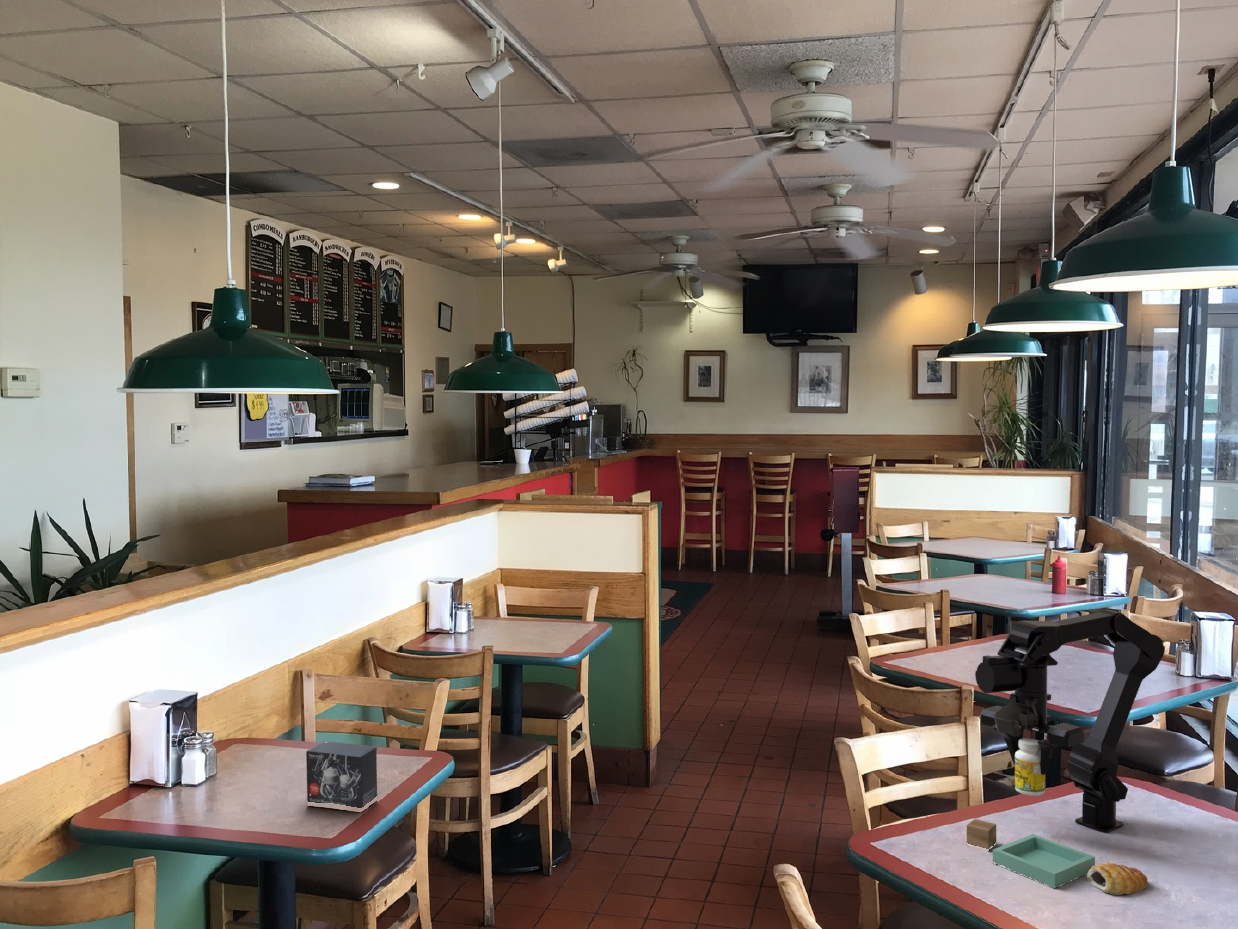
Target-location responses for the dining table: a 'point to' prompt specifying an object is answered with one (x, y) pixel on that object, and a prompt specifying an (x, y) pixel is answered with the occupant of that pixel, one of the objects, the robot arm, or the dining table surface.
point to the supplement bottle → (1029, 768)
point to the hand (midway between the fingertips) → (1030, 770)
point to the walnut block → (981, 833)
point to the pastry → (1117, 879)
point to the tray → (1044, 860)
